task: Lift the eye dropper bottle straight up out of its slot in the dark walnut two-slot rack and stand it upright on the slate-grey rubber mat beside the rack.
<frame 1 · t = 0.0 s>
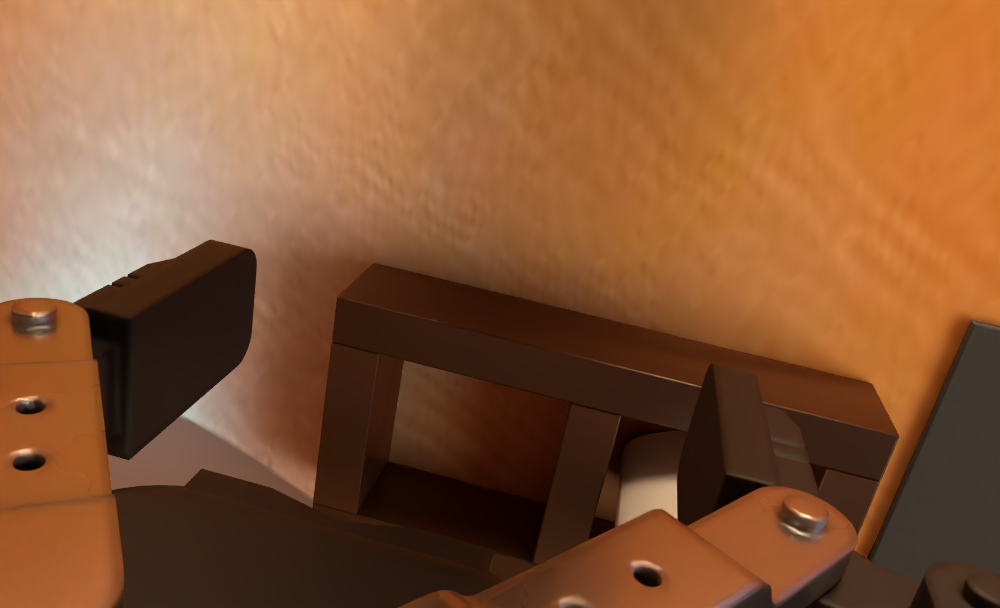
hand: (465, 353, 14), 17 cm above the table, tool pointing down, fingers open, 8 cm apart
eye dropper bottle: (692, 464, 34), resting in rack
rack: (585, 438, 34), on the table
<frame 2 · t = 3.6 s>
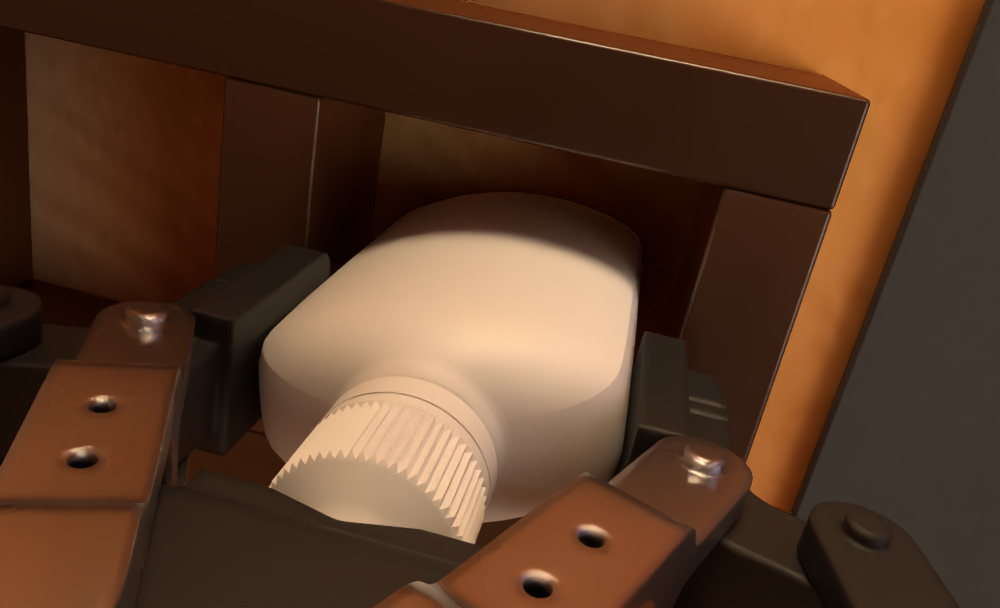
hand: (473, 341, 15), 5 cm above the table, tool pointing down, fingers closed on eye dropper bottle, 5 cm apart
eye dropper bottle: (518, 260, 19), resting in rack, touching gripper
rack: (335, 219, 20), on the table
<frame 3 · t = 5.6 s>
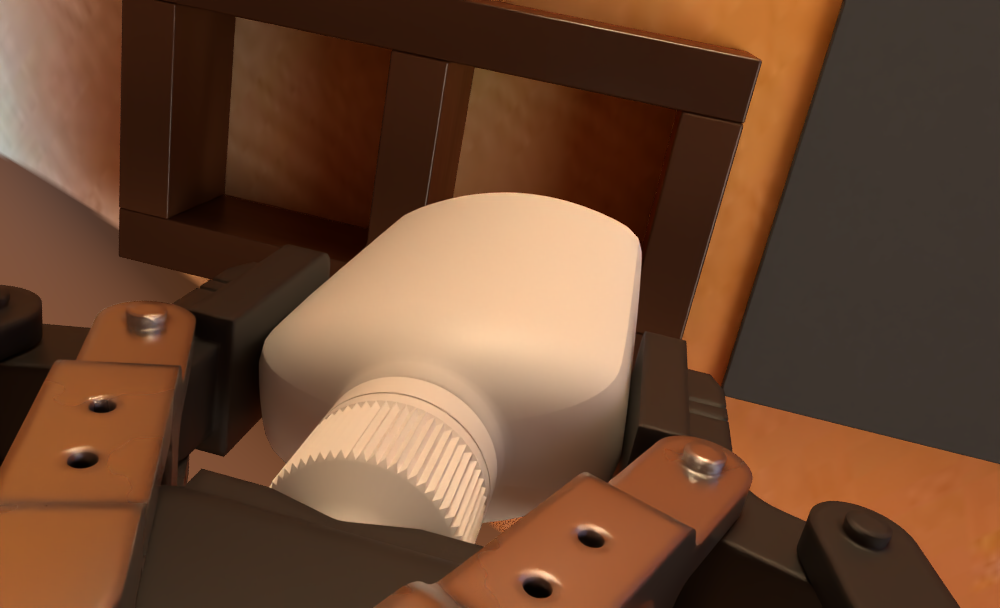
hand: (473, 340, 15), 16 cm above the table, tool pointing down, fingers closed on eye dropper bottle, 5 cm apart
eye dropper bottle: (518, 261, 19), point 11 cm above the table, touching gripper
rack: (436, 149, 30), on the table
mat: (963, 236, 28), on the table
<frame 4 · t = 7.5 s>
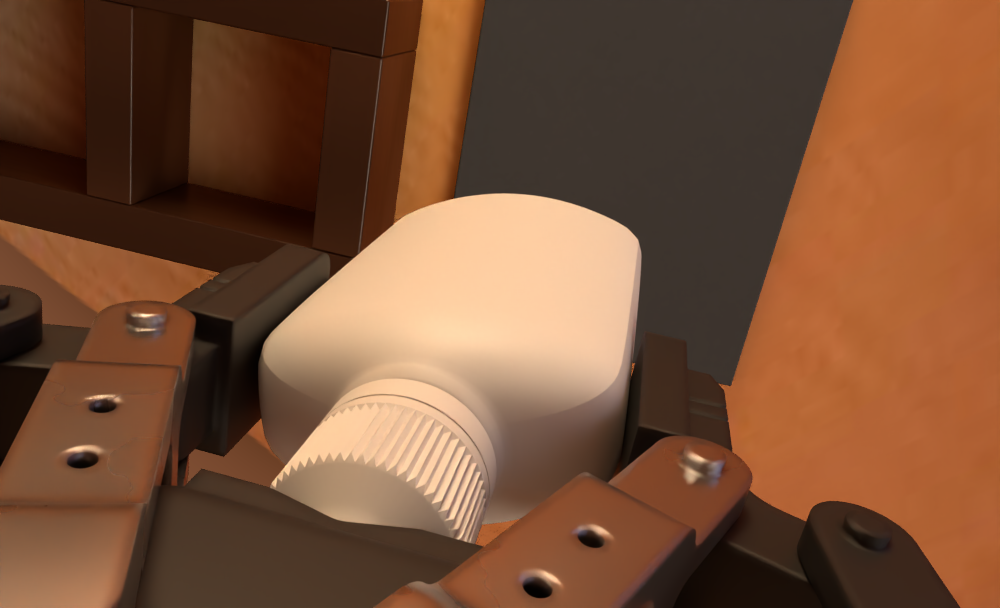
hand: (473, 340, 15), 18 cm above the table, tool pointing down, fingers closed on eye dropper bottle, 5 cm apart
eye dropper bottle: (518, 262, 19), point 13 cm above the table, touching gripper
rack: (170, 92, 33), on the table
mat: (623, 164, 31), on the table
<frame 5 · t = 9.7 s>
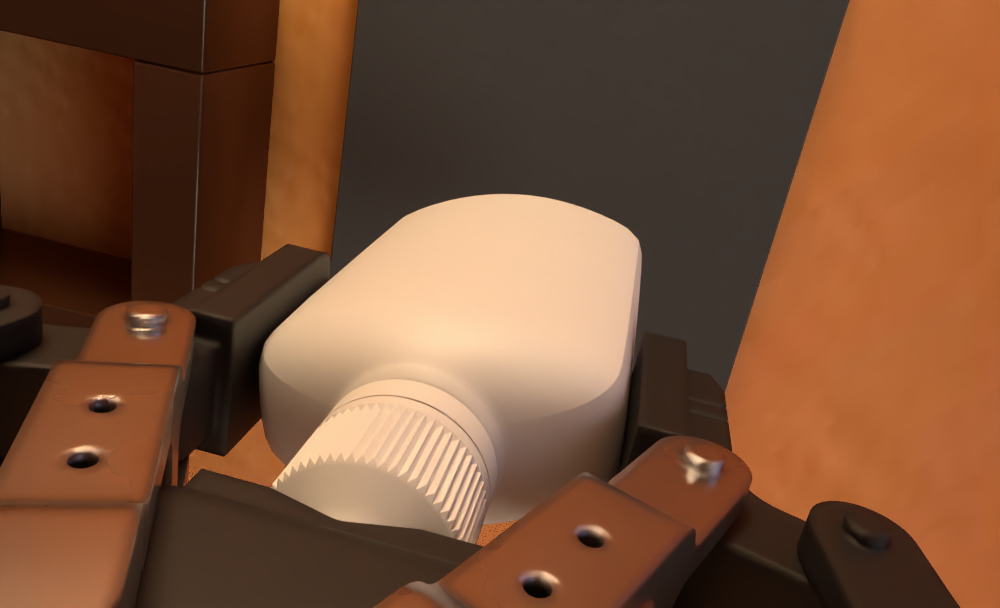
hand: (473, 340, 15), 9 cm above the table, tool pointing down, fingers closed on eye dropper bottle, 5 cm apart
eye dropper bottle: (518, 262, 19), point 4 cm above the table, touching gripper
mat: (548, 212, 23), on the table
when the fingers open (5 cm above the table, at t = 11.4 s): eye dropper bottle stays where it is, resting on mat.
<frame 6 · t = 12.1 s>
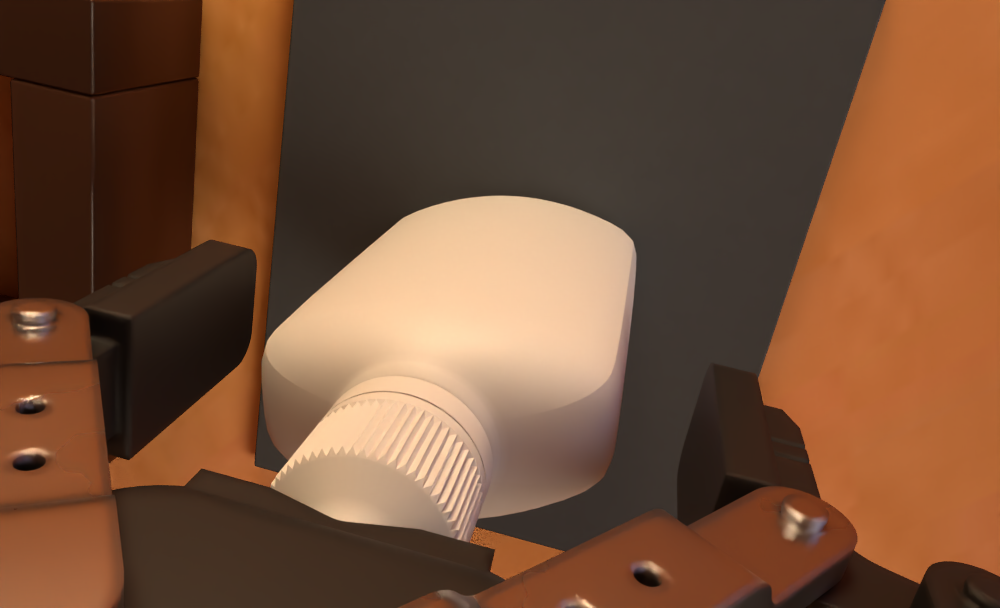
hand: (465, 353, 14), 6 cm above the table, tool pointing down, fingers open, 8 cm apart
eye dropper bottle: (515, 263, 20), resting on mat
mat: (520, 257, 20), on the table
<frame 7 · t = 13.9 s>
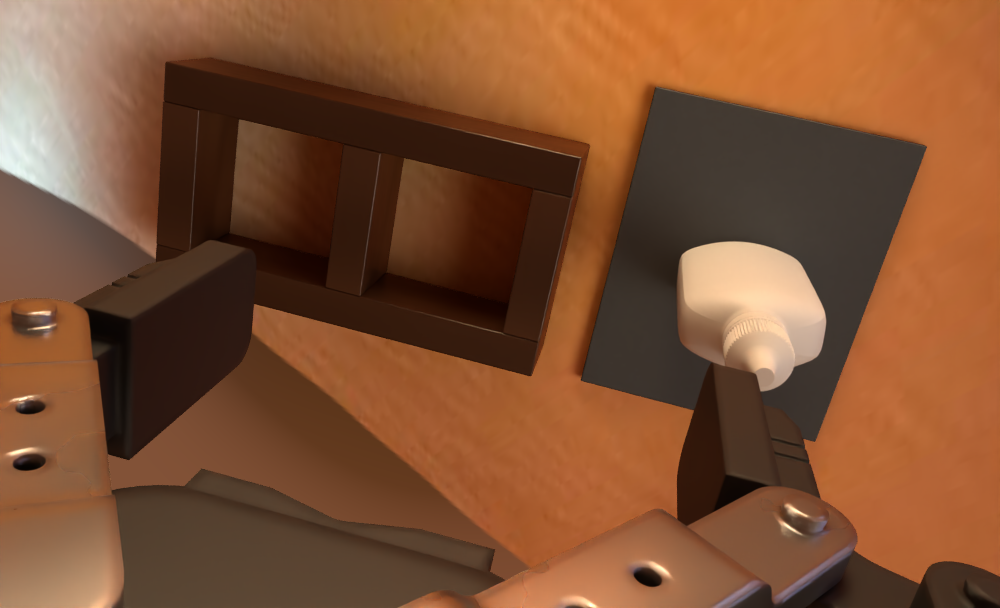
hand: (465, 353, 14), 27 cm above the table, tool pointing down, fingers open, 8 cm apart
eye dropper bottle: (737, 274, 40), resting on mat
rack: (379, 204, 42), on the table
mat: (738, 271, 40), on the table
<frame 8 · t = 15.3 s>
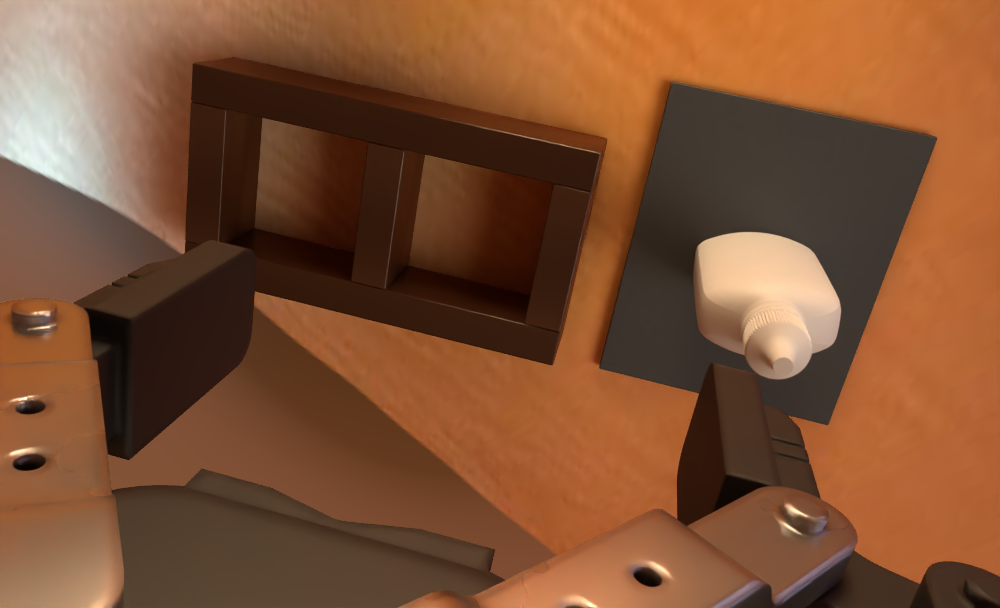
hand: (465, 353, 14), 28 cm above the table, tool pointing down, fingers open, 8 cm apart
eye dropper bottle: (751, 263, 41), resting on mat
rack: (401, 199, 43), on the table
mat: (753, 260, 41), on the table
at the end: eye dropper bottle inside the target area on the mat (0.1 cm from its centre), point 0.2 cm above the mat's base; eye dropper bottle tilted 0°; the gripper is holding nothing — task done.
